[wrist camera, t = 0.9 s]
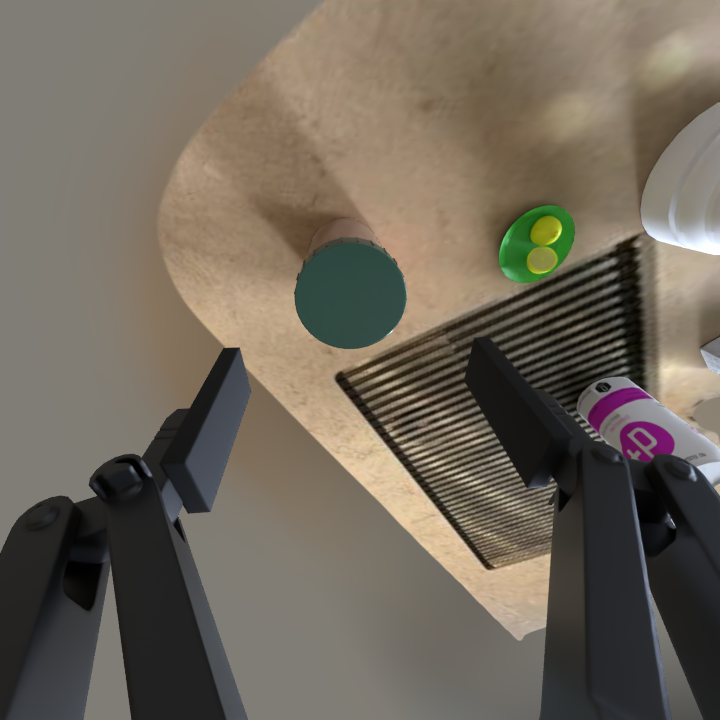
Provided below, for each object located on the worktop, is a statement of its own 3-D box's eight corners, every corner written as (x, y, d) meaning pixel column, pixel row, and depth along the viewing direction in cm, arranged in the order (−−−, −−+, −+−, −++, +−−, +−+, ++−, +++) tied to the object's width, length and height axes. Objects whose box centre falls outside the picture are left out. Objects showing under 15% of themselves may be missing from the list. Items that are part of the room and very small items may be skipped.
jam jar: (329, 201, 29) (328, 224, 20) (394, 241, 32) (421, 278, 22) (297, 270, 33) (283, 318, 23) (358, 301, 35) (368, 356, 26)
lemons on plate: (569, 266, 35) (586, 274, 32) (499, 290, 36) (511, 300, 33) (572, 191, 30) (592, 194, 28) (493, 221, 31) (506, 227, 29)
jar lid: (326, 212, 20) (325, 217, 19) (423, 271, 23) (430, 279, 22) (279, 312, 24) (276, 323, 23) (368, 352, 27) (370, 364, 25)
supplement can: (562, 406, 48) (643, 495, 35) (604, 367, 44) (712, 450, 31) (597, 419, 50) (685, 506, 38) (640, 382, 46) (754, 466, 34)
